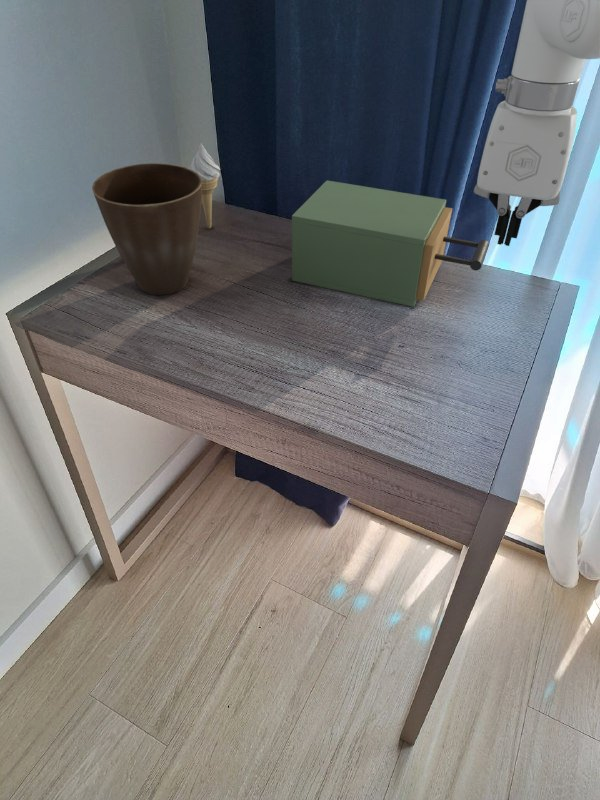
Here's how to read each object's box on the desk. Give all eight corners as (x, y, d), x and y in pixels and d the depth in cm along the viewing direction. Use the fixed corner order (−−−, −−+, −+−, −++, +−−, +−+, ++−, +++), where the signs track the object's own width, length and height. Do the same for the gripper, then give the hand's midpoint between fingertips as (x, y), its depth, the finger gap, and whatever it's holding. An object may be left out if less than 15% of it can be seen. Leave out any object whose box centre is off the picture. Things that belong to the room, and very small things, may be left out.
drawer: (484, 268, 93) (497, 215, 87) (469, 311, 84) (482, 255, 78) (336, 240, 100) (338, 189, 94) (307, 276, 91) (308, 223, 85)
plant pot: (222, 264, 96) (213, 166, 85) (197, 313, 85) (183, 208, 74) (136, 257, 97) (116, 160, 86) (100, 304, 86) (73, 200, 76)
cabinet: (435, 262, 97) (446, 199, 89) (413, 307, 86) (424, 240, 79) (324, 241, 102) (326, 180, 95) (291, 280, 92) (291, 215, 85)
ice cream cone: (188, 231, 104) (177, 145, 94) (203, 219, 108) (194, 135, 98) (216, 237, 103) (207, 150, 93) (230, 224, 107) (223, 139, 97)
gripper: (470, 95, 67) (444, 243, 79) (609, 108, 63) (559, 262, 75) (480, 81, 72) (455, 222, 84) (609, 92, 68) (563, 239, 80)
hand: (504, 240), depth 79 cm, fingers closed
